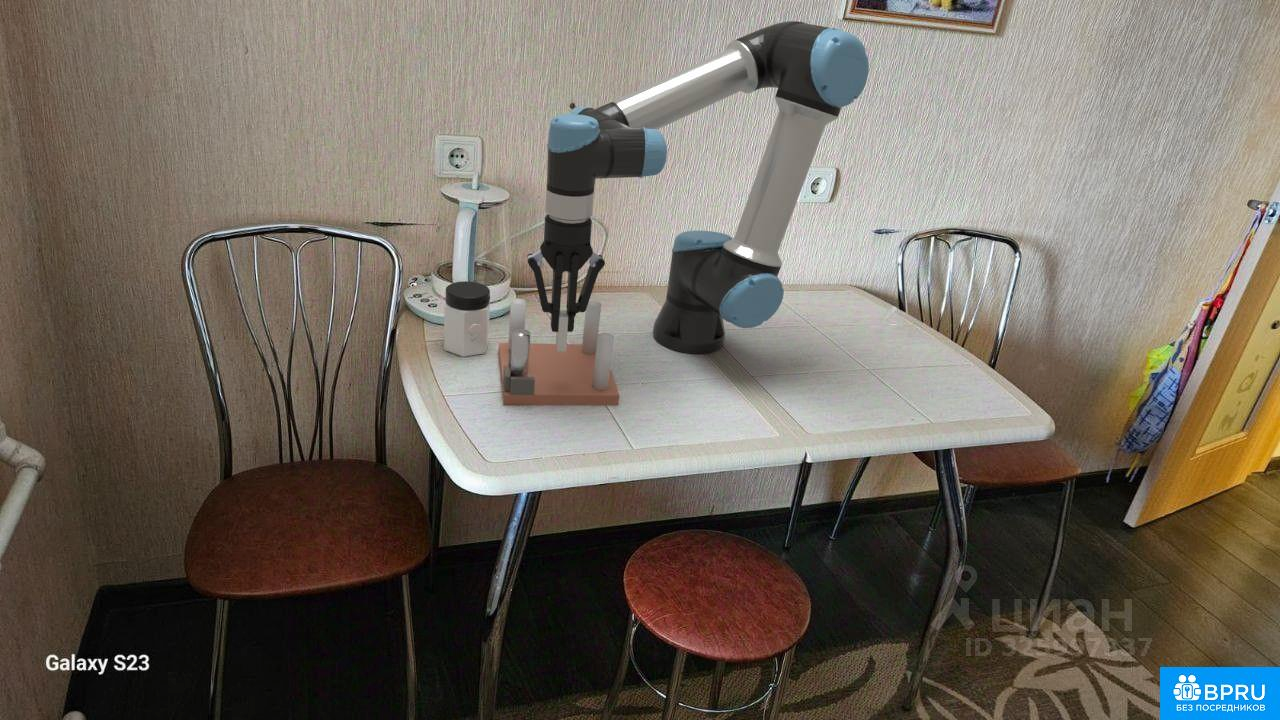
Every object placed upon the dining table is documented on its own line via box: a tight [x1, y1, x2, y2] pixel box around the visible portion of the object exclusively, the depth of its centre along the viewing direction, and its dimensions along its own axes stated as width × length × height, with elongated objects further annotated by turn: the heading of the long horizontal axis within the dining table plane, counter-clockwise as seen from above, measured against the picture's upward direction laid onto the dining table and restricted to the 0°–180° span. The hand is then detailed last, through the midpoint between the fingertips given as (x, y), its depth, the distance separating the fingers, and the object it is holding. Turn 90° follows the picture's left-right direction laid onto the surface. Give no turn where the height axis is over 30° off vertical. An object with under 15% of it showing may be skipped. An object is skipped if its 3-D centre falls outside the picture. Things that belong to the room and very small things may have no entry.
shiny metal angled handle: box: [508, 328, 531, 381], centre depth 142 cm, size 10×4×10 cm, turn 9°
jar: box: [443, 281, 491, 358], centre depth 154 cm, size 9×8×12 cm
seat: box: [498, 297, 620, 406], centre depth 147 cm, size 20×20×12 cm
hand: (560, 347), depth 141 cm, fingers closed
